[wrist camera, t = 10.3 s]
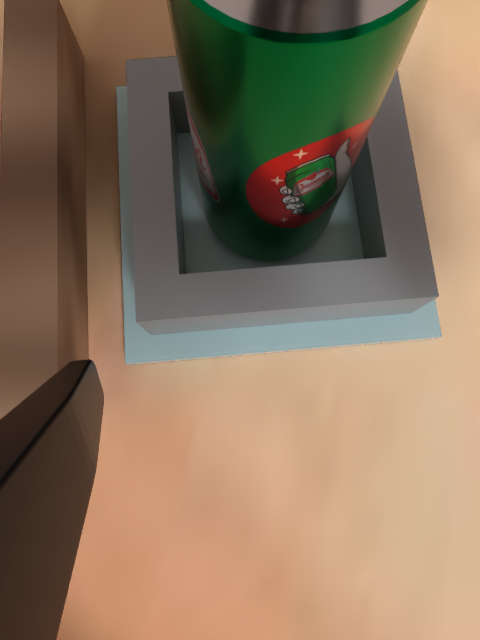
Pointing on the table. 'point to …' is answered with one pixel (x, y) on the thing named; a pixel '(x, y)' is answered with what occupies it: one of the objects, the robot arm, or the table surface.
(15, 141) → the long brown rectangular bar
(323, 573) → the table surface
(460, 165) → the table surface
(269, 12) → the soda can
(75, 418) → the robot arm
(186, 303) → the socket
